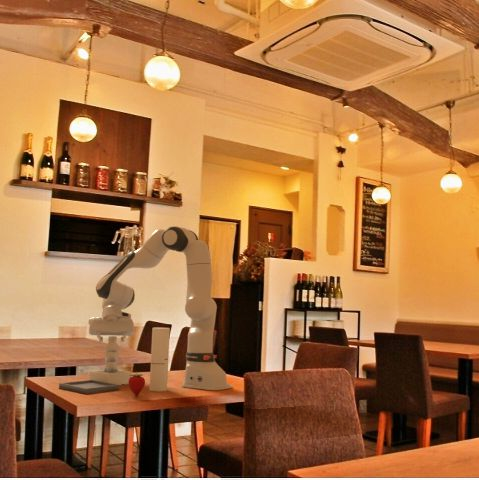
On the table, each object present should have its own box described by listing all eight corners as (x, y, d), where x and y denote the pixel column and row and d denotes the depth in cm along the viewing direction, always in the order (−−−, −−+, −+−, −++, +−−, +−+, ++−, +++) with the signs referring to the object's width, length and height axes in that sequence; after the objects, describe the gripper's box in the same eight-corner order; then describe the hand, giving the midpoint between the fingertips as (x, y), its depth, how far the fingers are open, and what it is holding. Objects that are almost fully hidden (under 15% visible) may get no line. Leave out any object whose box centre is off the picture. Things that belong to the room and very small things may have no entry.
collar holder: (130, 383, 241) (131, 371, 241) (107, 386, 231) (108, 374, 232) (112, 380, 249) (113, 368, 249) (89, 382, 239) (90, 371, 239)
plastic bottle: (106, 384, 235) (109, 337, 237) (99, 382, 240) (102, 336, 243) (120, 383, 239) (123, 336, 241) (113, 381, 244) (115, 335, 247)
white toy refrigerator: (170, 389, 228) (173, 328, 230) (158, 391, 222) (161, 328, 224) (157, 387, 232) (160, 327, 234) (145, 389, 226) (148, 327, 229)
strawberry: (133, 398, 205) (134, 371, 206) (124, 395, 211) (126, 368, 212) (147, 397, 208) (148, 370, 210) (138, 394, 215) (140, 368, 216)
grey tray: (119, 389, 224) (119, 384, 224) (86, 394, 211) (86, 388, 211) (91, 384, 235) (92, 379, 235) (58, 388, 222) (59, 383, 223)
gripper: (89, 313, 254) (88, 336, 244) (134, 314, 260) (135, 336, 249) (88, 322, 258) (87, 345, 247) (132, 323, 263) (133, 345, 253)
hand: (111, 341), depth 248 cm, fingers open, 8 cm apart
